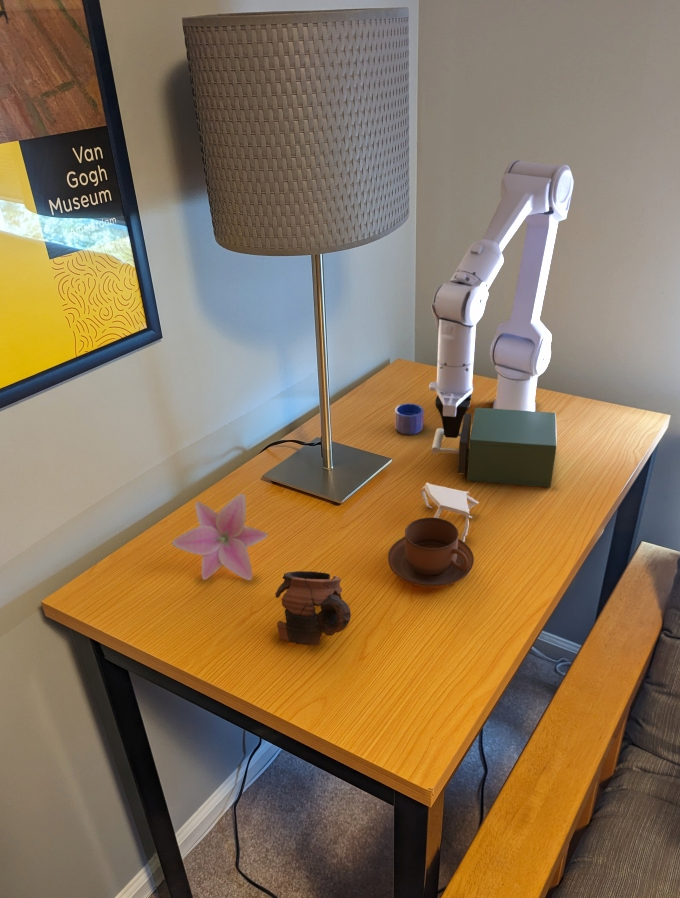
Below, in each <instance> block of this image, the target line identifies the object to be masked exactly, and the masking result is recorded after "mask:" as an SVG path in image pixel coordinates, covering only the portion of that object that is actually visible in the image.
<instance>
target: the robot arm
mask: <svg viewBox="0 0 680 898" xmlns="http://www.w3.org/2000/svg"><path fill="white" fill-rule="evenodd" d="M572 173H573V172H572V170H571V168H570V166H569V165H567V164H552V163H544V162H543V163H542V162H532V161H526V160H525V161H523V160H520V159H513V160H512V161H511V162H510V163H508V165H507V166H506V168H505V170H504V172H503V176H502V177H501V184H500V201H499V203H498V204H497V207H496V209H495V211H494V213H493V216H492V217H491V220H490V222H489V224H488V225H487V229H486V231H485V233H484V235H483V237H482V239H480V240H479V239H478V240H475V241H473V242H472V243H471V244H470V246H469V247H468V249H467V250H466V252H465V254H464V256H463V257H462V259H461V261H460V263H459V264H458V266H457V268H456V269H455V271H454V273H453V274H452V276H451V277H450V280H448V281H446V282H444V283H441V284H440V285H439V286H438V287H437V288H436V290H435V292H434V295H433V298H432V303H431V304H430V306H431V307H430V308H431V313H432V316H433V317H434V328H435V330H436V331H438V336H437V337H438V338H437V365H436V381H431V382H429V385H428V391H432V392H433V391H434V392H435V393H436V397H435V401H434V403H435V409H436V410H437V411H438V413H439V416H440V419H441V423H442V429H443V430H444V434H445V435H444V434H443V435H444V437H445V438H447V439H448V438H450V439H457V438H458V437H459V436H458V435H459V432H461V428H462V424H463V420H464V415H465V413H467V411H468V410H469V408H470V406H471V401H472V393H473V391H474V384H473V376H474V361H475V346H476V345H475V343H476V331H477V324H478V322H479V321H480V320H481V319H482V317H483V315H484V312H485V308H486V304H487V301H488V298H489V291H488V290H489V289H490V287H491V285H492V283H493V282H494V280H495V278H496V277H497V276H498V273H499V271H500V270H501V268H502V266H503V265H504V262H505V261H504V255H503V251H504V250H505V247H506V246H507V244H509V242H510V240H511V239H512V238H513V236H514V235H515V233H516V232H517V231H518V229H519V227H520V226H521V225H522V223H523V222H524V220H525V223H526V229H525V236H524V241H523V247H522V251H521V258H520V263H519V270H518V275H517V280H516V286H515V291H514V298H513V303H512V309H511V315H510V318H508V319H506V320H504V321H503V322H501V323H500V324H498V325H497V327H496V330H495V334H494V336H493V339H492V341H491V344H490V347H489V359H490V362H491V364H492V365H493V366H494V371H495V372H497V381H496V394H495V398H494V399H493V405H492V409H505V410H520V411H535V412H536V402H535V400H536V391H537V384H538V377H540V376H541V375H542V374H544V372H545V371H546V369H547V368H548V366H549V364H550V360H551V357H552V356H551V355H552V350H551V345H552V344H551V343H552V333H551V332H550V330H549V329H548V328H547V327H546V326H545V324H544V323H543V322H542V321H541V320H540V317H541V314H542V309H543V302H544V298H545V292H546V287H547V282H548V277H549V274H550V273H549V272H550V267H551V262H552V257H553V252H554V246H555V242H556V236H557V230H558V226H559V222H561V221H563V220H566V219H567V216H568V212H569V209H570V205H571V199H572V193H573V190H574V189H573V188H574V182H575V181H574V177H573V174H572Z"/></svg>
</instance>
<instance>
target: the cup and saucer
mask: <svg viewBox="0 0 680 898" xmlns="http://www.w3.org/2000/svg"><path fill="white" fill-rule="evenodd" d="M459 536H460V535H459V530H458V528H457V526H456V525H455V524H453V523H452V522H450V521H449V520H446V519H443V518H440V517H438V518H434V517H421V518H418V519H415V520H413V521H412V522H410V523H409V524H408V525H406V528H405V529H404V537H401V538H399V539H398V540H396V541H395V543H393V545H391V547H390V549H389V551H388V554H387V562H388V565H389V567H390V569H391V571H392V572H393V573H394V574H395V575H396V576H397V577H398V578H399V579H401V580H403V581H404V582H406V583H408V584H411V585H414V586H416V587H417V586H418V587H421V588H443V587H447V586H450V585H453V584H455V583H458V582H460V581H462V580H463V579H465V578H466V577H467V576H468V575H469V574H470V572H471V571H472V569H473V566H474V562H475V556H474V553H473V551H472V549H471V548H470V546H469V545H468V544H467V543H465V541H464V542H463V541H462V539H459Z"/></svg>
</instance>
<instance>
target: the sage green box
mask: <svg viewBox="0 0 680 898" xmlns="http://www.w3.org/2000/svg"><path fill="white" fill-rule="evenodd" d="M557 445H558V444H557V414H556V412H549V411H536V410H535V411H520V410H505V409H493V408H490V407H488V408H487V407H474V414H473V420H472V423H471V432H470V445H469V451H468V460H467V462H468V463H467V475H466V476H467V478H466V481H468V482H477V483H490V484H501V485H502V484H503V485H515V486H528V487H541V488H551V486H552V480H553V474H554V473H553V472H554V467H555V461H556V460H555V459H556V453H557Z"/></svg>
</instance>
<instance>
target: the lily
mask: <svg viewBox="0 0 680 898" xmlns="http://www.w3.org/2000/svg"><path fill="white" fill-rule="evenodd" d="M246 510H247V499H246V495H245V494H244V493H239V494H238V495H236V496H235V497H233V498H232V499H231V500H230V501H229V502H227V503H226V504H225V505H224V506H223V507H222V508H221V509H220V510H219V512H217V511H215V510H214V509H213V508H211V507H210V506H208V505H206V504H204V503H202V502H201V501H196V502H195V512H196V516H197V522H198V524H199V526H196V527H194V528H192V529H190V530H188V531H186V532H184V533H182V534H180V535H179V536H177V537H175V538H174V539H173V540H172V541H171V545H172V546H173V547H174V548H177V549H178V550H181V551H183V552H188V553H191V554H194V555H198V556H202V558H201V578H202V580H203V581H205V580H207V579H209V578H210V577H212V576H213V575H214V574H215V573H216V572H218V570H220V568H221V567H222V566H224V567H225V568H226V569H227V570H229V571H230V572H232V573H233V574H235V575H236V576H238V577H240V578H242V579H243V580H244V579H245V580H247V581H252V579H253V568H252V564H251V560H250V555H249V551H248V548H250V547H252V546H254V545H256V544H258V543H260V542H263V540H265V539H266V538H268V536H269V534H268V533H267V532H265V531H263V530H260V529H258V528H254V527H251V526H246V516H247V515H246V514H247V513H246V512H247V511H246Z"/></svg>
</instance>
